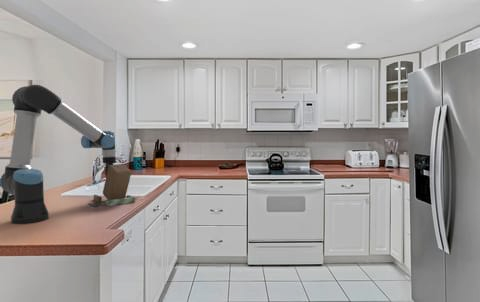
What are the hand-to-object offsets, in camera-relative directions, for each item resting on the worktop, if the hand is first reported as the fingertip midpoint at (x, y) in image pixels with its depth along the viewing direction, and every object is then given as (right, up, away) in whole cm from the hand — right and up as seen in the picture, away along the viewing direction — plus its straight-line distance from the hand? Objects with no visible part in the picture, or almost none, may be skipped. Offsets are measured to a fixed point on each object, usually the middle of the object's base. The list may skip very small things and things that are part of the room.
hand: (110, 194), depth 208 cm
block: (+3, -1, -4) cm, 5 cm away
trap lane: (+4, -3, -6) cm, 7 cm away
